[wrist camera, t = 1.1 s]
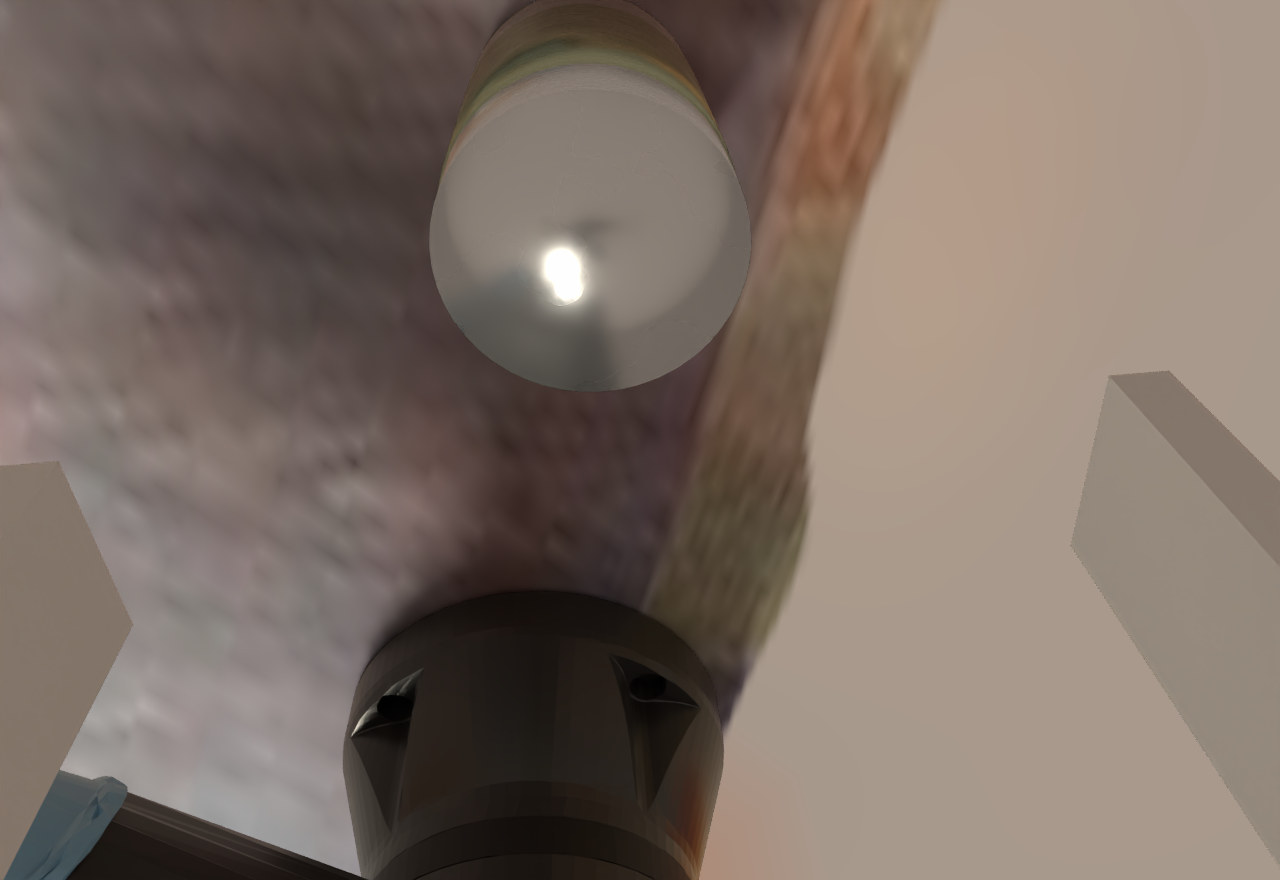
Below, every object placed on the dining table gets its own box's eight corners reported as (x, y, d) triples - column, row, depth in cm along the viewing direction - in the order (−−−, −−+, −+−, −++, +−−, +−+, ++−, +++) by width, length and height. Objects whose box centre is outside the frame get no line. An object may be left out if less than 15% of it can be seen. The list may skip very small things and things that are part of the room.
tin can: (701, 215, 31) (752, 382, 22) (484, 231, 30) (453, 405, 22) (696, -19, 27) (755, 74, 19) (450, -3, 27) (398, 98, 18)
